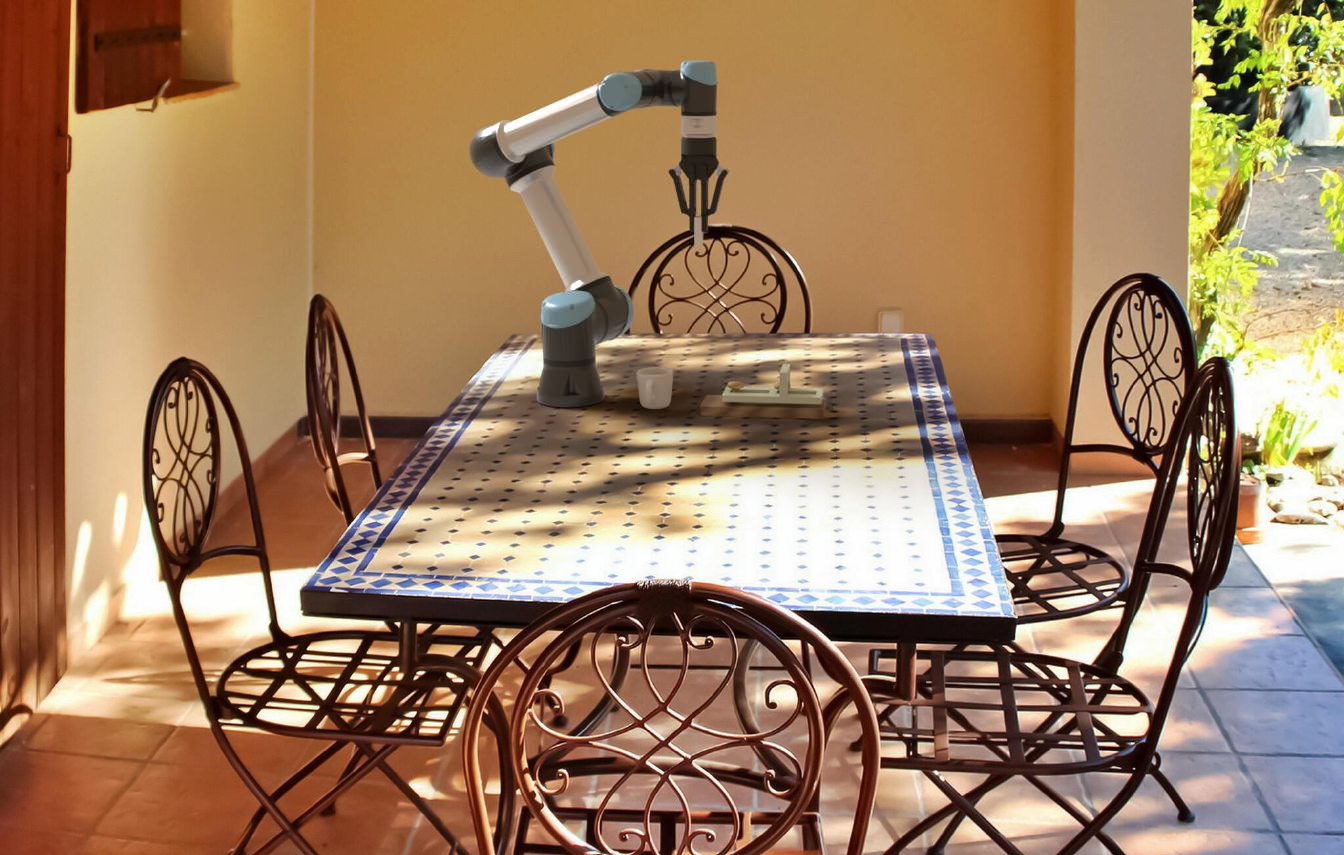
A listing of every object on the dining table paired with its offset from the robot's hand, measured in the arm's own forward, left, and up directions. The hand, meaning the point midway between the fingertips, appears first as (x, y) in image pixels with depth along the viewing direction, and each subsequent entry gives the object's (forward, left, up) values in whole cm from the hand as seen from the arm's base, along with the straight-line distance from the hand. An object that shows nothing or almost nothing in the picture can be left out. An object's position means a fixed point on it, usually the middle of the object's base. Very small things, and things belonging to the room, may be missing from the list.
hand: (698, 246), depth 311 cm
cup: (-3, -13, -34) cm, 36 cm away
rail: (+18, -1, -34) cm, 38 cm away
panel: (+20, 0, -31) cm, 37 cm away
